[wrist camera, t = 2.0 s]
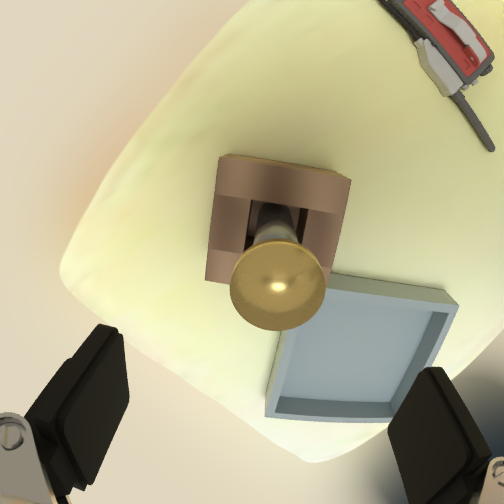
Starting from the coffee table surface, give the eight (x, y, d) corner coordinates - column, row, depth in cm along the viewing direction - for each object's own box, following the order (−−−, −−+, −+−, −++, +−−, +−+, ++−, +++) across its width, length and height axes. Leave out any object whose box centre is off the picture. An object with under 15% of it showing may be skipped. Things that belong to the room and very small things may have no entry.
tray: (444, 289, 32) (459, 305, 29) (391, 403, 38) (398, 422, 35) (295, 267, 32) (298, 283, 29) (265, 395, 38) (264, 417, 35)
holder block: (335, 171, 29) (351, 180, 23) (315, 270, 32) (323, 298, 26) (229, 153, 29) (218, 157, 23) (216, 255, 32) (204, 280, 26)
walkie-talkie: (359, 9, 23) (481, 156, 27) (372, -8, 19) (504, 160, 23) (408, -26, 21) (517, 112, 25) (423, -42, 17) (540, 113, 20)
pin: (303, 196, 29) (335, 253, 15) (294, 244, 30) (313, 336, 16) (253, 188, 29) (236, 237, 15) (246, 236, 30) (224, 323, 16)
